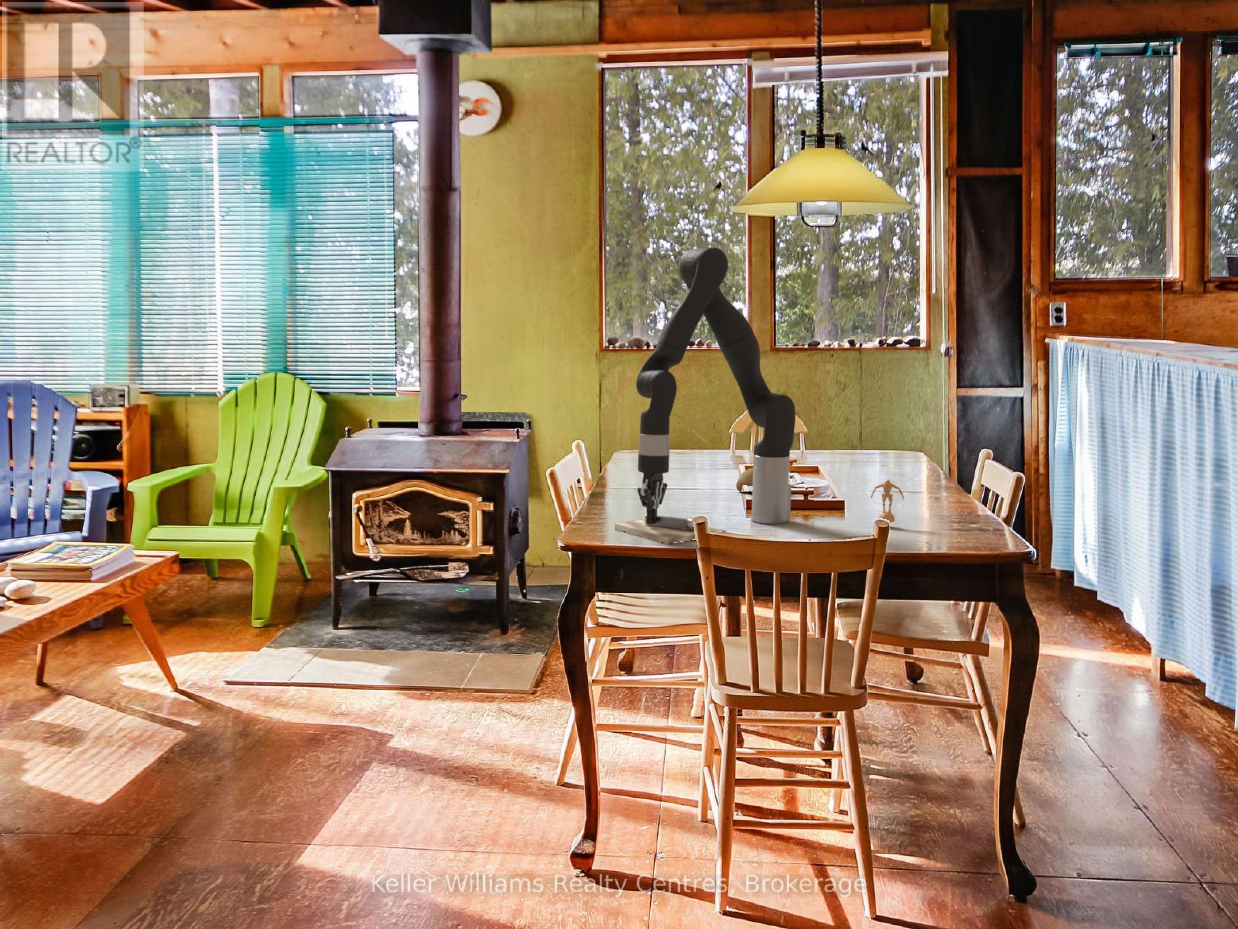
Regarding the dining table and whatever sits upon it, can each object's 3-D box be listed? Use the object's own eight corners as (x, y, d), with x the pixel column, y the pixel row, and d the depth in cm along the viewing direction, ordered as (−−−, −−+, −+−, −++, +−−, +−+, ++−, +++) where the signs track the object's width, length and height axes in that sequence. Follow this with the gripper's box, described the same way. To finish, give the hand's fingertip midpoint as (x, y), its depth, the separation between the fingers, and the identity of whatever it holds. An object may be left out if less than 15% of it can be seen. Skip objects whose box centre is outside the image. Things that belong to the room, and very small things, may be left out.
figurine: (870, 527, 282) (872, 481, 281) (868, 523, 288) (870, 477, 287) (903, 529, 281) (906, 482, 280) (901, 524, 287) (903, 479, 285)
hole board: (671, 522, 285) (671, 516, 285) (725, 536, 269) (726, 529, 268) (614, 529, 275) (614, 522, 275) (667, 544, 258) (667, 537, 258)
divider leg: (701, 528, 268) (702, 518, 268) (696, 530, 265) (696, 521, 265) (647, 522, 275) (647, 513, 274) (642, 524, 272) (642, 515, 271)
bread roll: (788, 495, 330) (789, 469, 329) (738, 495, 330) (739, 468, 329) (782, 490, 340) (783, 464, 339) (734, 490, 339) (734, 464, 338)
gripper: (657, 456, 260) (654, 529, 262) (678, 451, 272) (676, 521, 274) (628, 453, 263) (625, 526, 265) (650, 449, 275) (648, 518, 277)
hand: (651, 523), depth 270 cm, fingers closed
